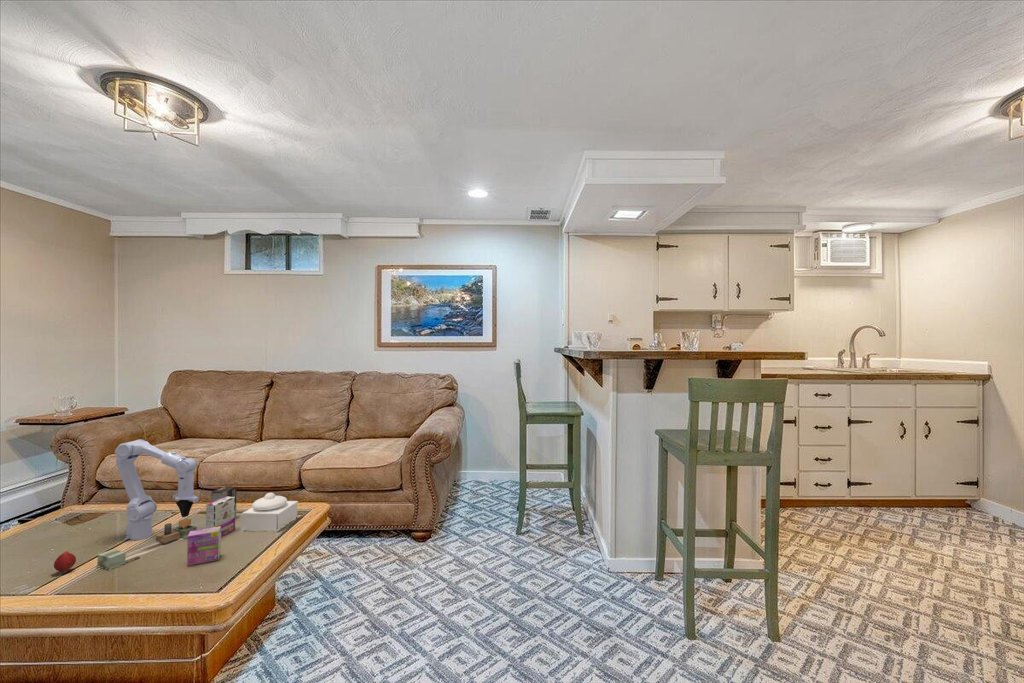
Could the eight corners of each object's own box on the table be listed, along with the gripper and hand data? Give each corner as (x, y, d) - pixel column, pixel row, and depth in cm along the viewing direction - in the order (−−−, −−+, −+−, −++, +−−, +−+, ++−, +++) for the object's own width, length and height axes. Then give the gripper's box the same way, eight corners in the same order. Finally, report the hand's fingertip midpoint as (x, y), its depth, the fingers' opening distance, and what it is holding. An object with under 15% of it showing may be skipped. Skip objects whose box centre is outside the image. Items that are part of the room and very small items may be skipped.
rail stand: (97, 566, 167) (97, 554, 167) (184, 534, 197) (184, 524, 197) (109, 569, 164) (110, 558, 164) (196, 536, 194) (196, 526, 194)
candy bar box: (226, 531, 200) (227, 495, 201) (235, 532, 200) (236, 496, 200) (204, 541, 190) (205, 504, 190) (214, 542, 189) (215, 504, 189)
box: (186, 566, 167) (187, 535, 168) (189, 560, 172) (190, 530, 173) (218, 560, 172) (219, 530, 172) (220, 554, 177) (221, 525, 177)
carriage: (155, 540, 185) (155, 526, 185) (170, 535, 191) (171, 521, 191) (164, 543, 183) (164, 527, 183) (179, 537, 189) (180, 522, 189)
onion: (55, 577, 159) (56, 555, 159) (51, 573, 162) (52, 551, 162) (77, 570, 164) (78, 549, 164) (73, 566, 167) (73, 546, 167)
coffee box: (225, 517, 217) (225, 485, 218) (236, 518, 216) (237, 486, 217) (210, 524, 208) (210, 491, 209) (222, 525, 207) (222, 491, 208)
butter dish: (263, 518, 217) (264, 486, 218) (298, 518, 217) (298, 486, 217) (240, 532, 200) (241, 497, 200) (278, 532, 199) (278, 498, 200)
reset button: (178, 530, 192) (178, 520, 193) (186, 528, 195) (186, 518, 196) (183, 531, 191) (183, 521, 192) (190, 529, 194) (191, 519, 194)
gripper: (165, 486, 193) (164, 517, 192) (187, 490, 188) (186, 521, 187) (182, 482, 199) (181, 512, 199) (203, 485, 194) (203, 516, 194)
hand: (185, 516), depth 194 cm, fingers closed
